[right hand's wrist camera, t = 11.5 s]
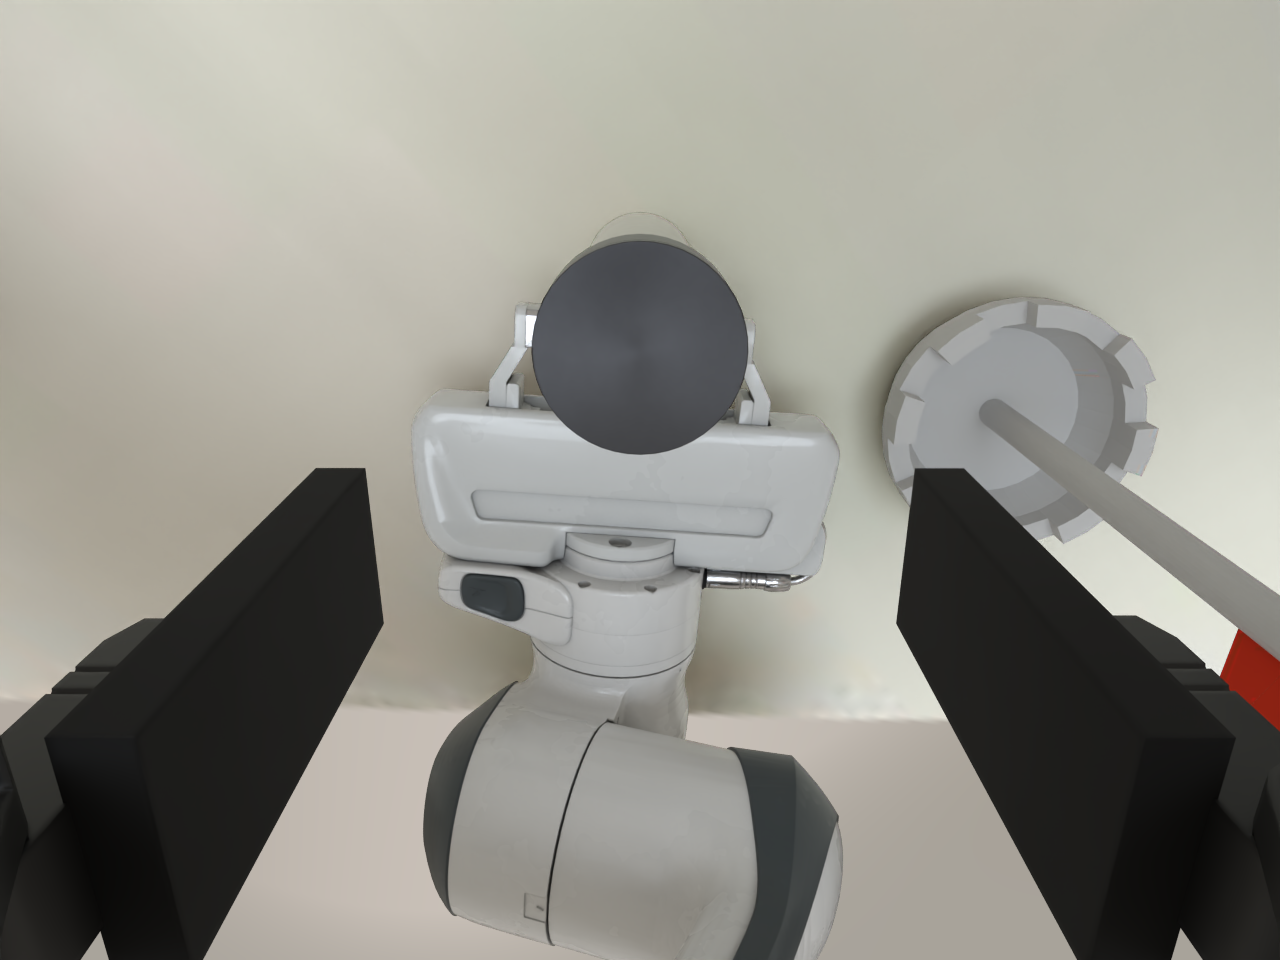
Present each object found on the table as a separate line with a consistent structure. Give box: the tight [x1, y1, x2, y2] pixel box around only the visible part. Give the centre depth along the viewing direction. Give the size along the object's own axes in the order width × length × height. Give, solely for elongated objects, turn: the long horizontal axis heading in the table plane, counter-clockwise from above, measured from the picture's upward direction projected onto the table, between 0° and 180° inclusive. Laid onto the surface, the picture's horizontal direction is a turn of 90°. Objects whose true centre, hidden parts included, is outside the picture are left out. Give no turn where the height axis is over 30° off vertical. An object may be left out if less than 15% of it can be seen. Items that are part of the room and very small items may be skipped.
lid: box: [532, 234, 748, 455], centre depth 28 cm, size 7×7×2 cm
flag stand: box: [882, 297, 1280, 731], centre depth 34 cm, size 13×13×30 cm
